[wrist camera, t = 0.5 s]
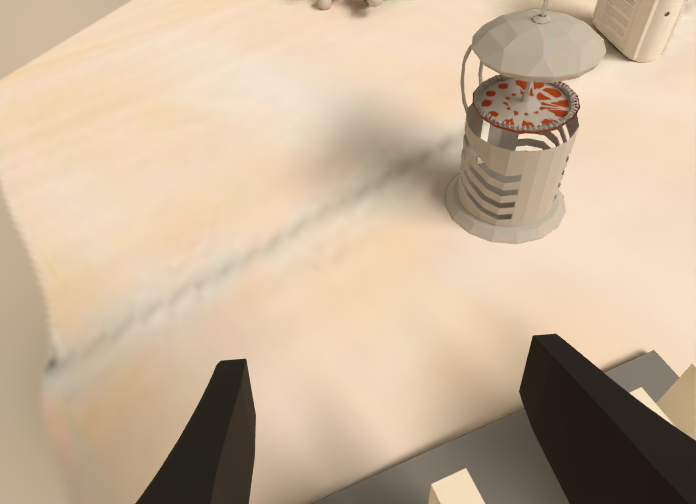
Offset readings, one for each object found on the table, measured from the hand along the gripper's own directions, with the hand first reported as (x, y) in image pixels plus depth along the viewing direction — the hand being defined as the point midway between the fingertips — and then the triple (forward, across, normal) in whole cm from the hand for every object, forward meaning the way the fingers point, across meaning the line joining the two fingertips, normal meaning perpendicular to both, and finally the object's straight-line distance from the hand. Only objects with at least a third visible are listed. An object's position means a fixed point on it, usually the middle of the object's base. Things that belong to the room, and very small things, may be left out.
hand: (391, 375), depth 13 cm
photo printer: (+49, -35, +2) cm, 60 cm away
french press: (+28, -14, +10) cm, 33 cm away
